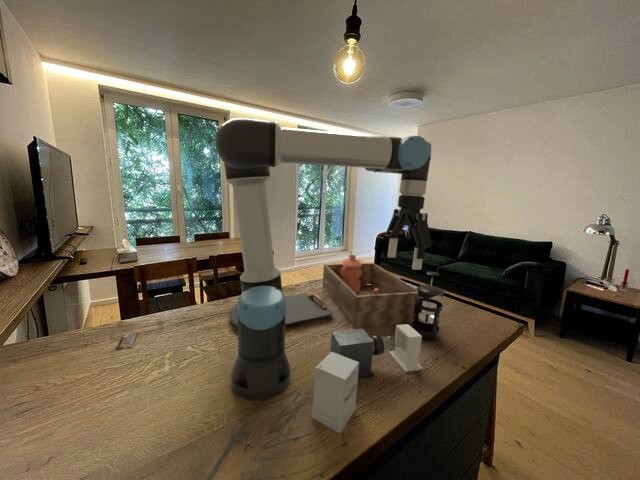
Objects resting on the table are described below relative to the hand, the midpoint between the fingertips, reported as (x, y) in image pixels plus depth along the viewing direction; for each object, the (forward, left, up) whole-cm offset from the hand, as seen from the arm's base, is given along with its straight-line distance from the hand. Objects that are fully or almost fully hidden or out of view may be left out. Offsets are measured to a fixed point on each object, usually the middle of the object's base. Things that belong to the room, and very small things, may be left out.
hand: (403, 262), depth 87 cm
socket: (-2, -10, -28) cm, 29 cm away
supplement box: (-29, -24, -28) cm, 47 cm away
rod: (-16, -10, -24) cm, 30 cm away
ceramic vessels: (+4, +31, -28) cm, 42 cm away
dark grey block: (-20, -10, -28) cm, 36 cm away
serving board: (-34, +26, -28) cm, 51 cm away
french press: (+14, +3, -28) cm, 31 cm away
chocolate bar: (-84, +17, -28) cm, 90 cm away
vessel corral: (+4, +32, -28) cm, 42 cm away
